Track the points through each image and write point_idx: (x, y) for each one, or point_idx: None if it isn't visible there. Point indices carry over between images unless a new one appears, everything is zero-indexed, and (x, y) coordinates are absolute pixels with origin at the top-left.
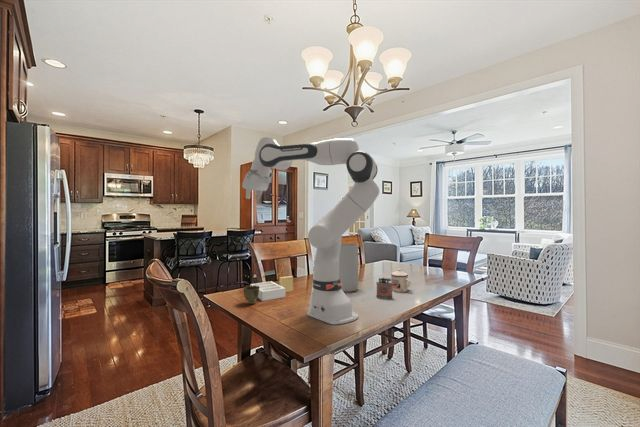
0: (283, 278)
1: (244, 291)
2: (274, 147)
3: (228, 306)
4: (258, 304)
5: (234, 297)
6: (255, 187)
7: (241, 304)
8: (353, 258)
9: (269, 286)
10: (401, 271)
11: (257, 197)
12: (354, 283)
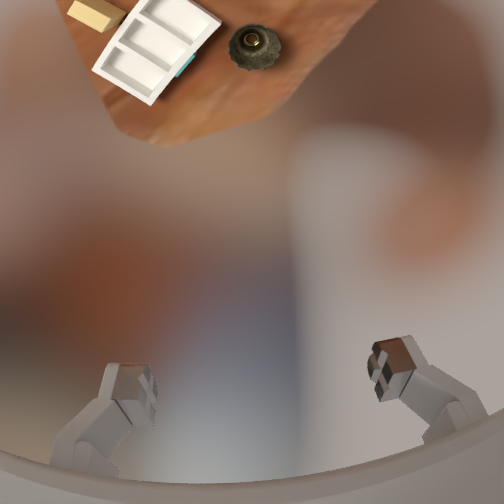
0: (105, 15)
1: (273, 58)
2: None
3: (288, 82)
4: (254, 17)
5: (213, 108)
6: (444, 481)
7: None
8: None
9: (133, 48)
10: None
11: (141, 385)
12: None
